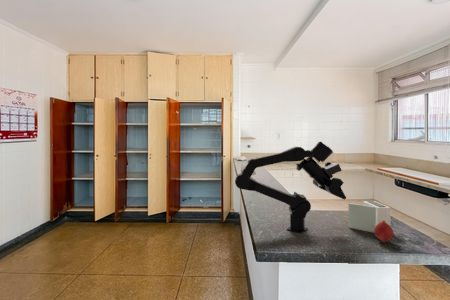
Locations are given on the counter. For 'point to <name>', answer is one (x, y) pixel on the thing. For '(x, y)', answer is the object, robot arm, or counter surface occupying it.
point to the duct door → (362, 217)
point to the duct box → (380, 211)
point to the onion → (383, 231)
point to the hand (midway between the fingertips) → (341, 196)
